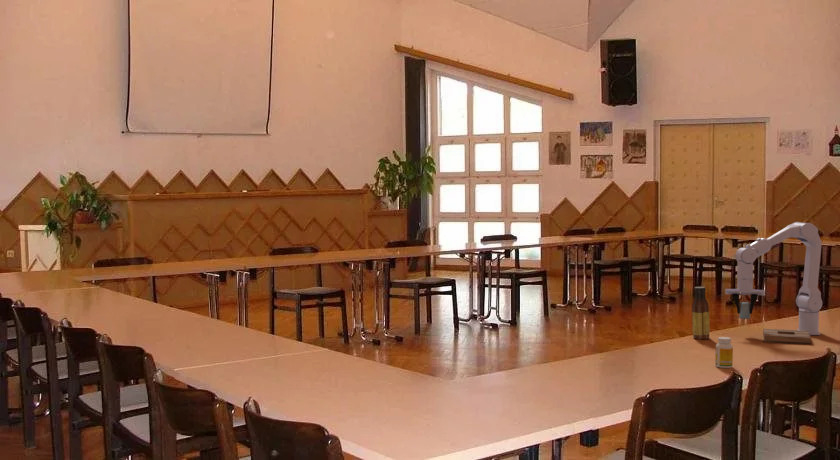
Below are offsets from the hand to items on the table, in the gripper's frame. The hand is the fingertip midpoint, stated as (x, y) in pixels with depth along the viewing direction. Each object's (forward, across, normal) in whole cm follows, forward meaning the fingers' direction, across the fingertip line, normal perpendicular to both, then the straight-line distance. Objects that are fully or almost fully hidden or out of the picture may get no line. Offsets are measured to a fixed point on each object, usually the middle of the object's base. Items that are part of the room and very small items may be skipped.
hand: (744, 313), depth 360 cm
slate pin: (+2, 0, 0) cm, 2 cm away
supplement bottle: (+9, -7, -63) cm, 64 cm away
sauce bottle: (+9, -16, -11) cm, 21 cm away
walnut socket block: (+9, +15, -5) cm, 18 cm away
